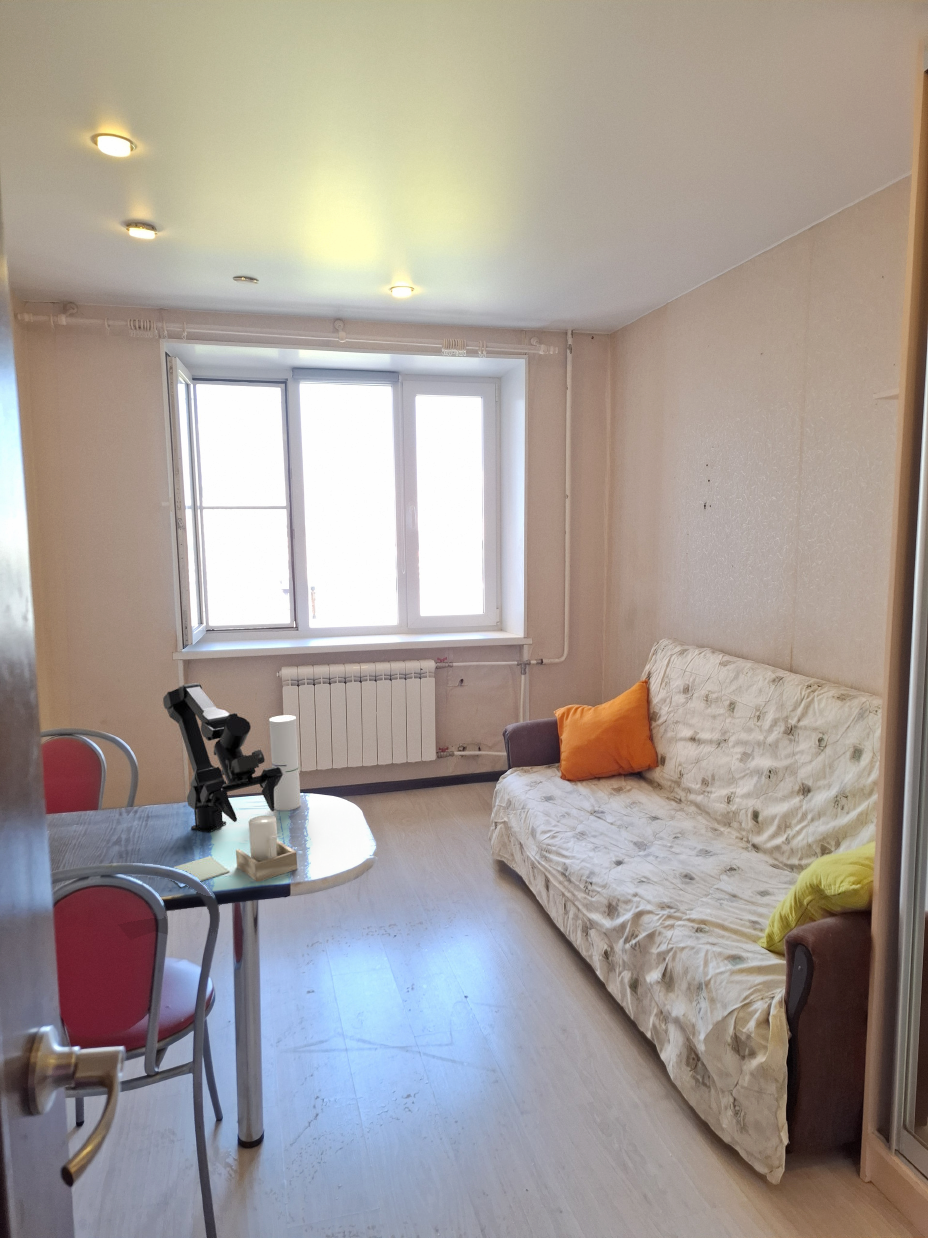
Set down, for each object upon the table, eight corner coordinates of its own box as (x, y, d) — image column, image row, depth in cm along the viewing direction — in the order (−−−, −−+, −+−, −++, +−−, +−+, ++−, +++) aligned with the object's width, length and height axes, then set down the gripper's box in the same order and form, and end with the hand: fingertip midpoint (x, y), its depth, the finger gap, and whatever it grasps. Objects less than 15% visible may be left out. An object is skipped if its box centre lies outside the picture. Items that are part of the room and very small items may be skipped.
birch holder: (236, 866, 175) (235, 850, 174) (275, 854, 181) (274, 838, 180) (257, 882, 167) (256, 864, 166) (297, 868, 173) (296, 852, 172)
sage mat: (163, 871, 173) (163, 870, 173) (210, 857, 180) (210, 856, 180) (180, 887, 165) (180, 886, 165) (229, 872, 172) (229, 871, 172)
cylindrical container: (276, 802, 217) (271, 716, 214) (302, 800, 217) (297, 714, 214) (272, 811, 210) (267, 722, 207) (298, 809, 210) (293, 721, 207)
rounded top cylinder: (247, 866, 175) (244, 820, 174) (271, 858, 179) (268, 813, 177) (262, 877, 169) (259, 830, 167) (287, 869, 173) (284, 822, 171)
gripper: (201, 749, 172) (224, 808, 165) (277, 733, 184) (301, 788, 177) (190, 775, 179) (212, 833, 172) (264, 758, 191) (287, 812, 184)
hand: (254, 815), depth 176 cm, fingers open, 9 cm apart
